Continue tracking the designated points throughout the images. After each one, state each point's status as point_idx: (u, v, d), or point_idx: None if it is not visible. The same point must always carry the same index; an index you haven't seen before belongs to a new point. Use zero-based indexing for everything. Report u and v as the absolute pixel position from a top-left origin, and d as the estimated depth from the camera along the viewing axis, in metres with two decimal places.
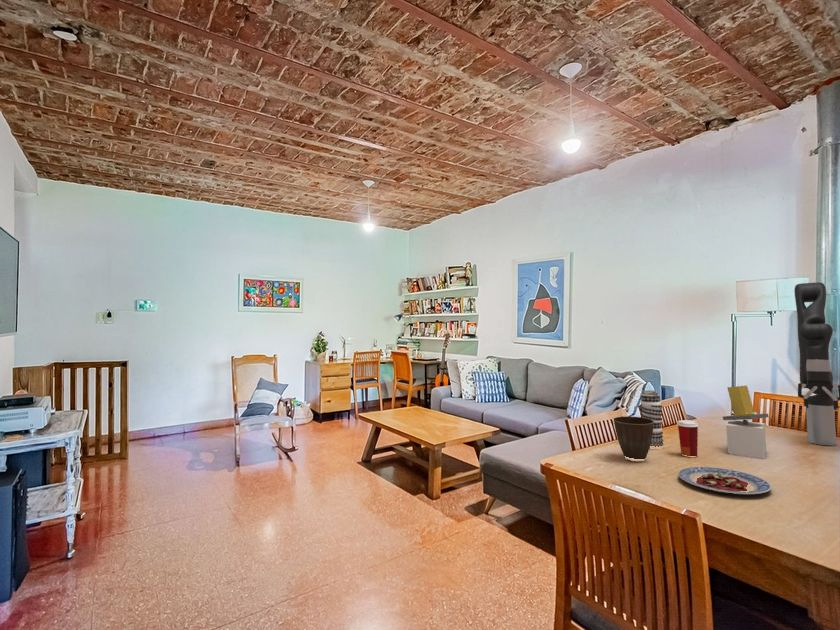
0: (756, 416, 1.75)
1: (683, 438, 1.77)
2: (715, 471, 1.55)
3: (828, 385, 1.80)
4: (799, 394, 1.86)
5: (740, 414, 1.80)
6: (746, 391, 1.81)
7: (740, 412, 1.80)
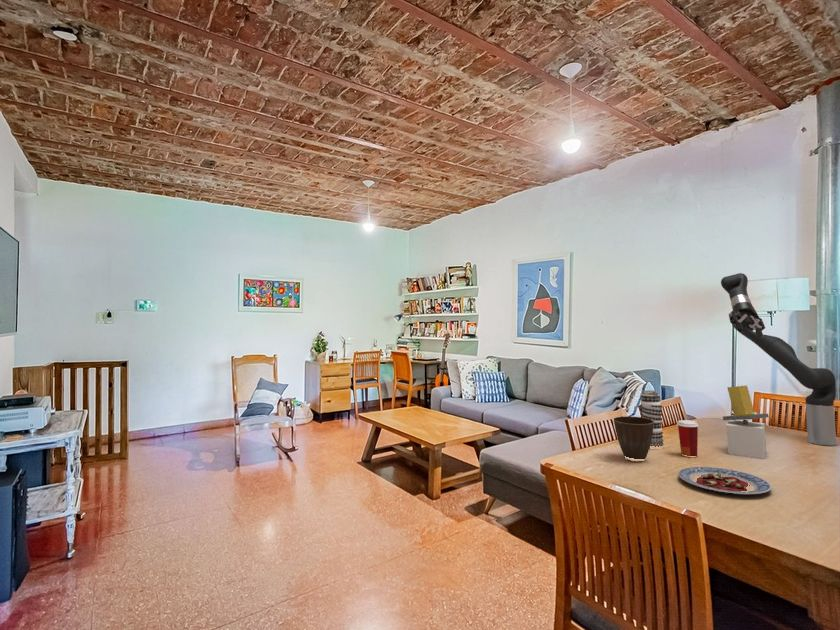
0: (756, 416, 1.75)
1: (683, 438, 1.77)
2: (715, 471, 1.55)
3: None
4: (735, 318, 1.93)
5: (740, 414, 1.80)
6: (746, 391, 1.81)
7: (740, 412, 1.80)
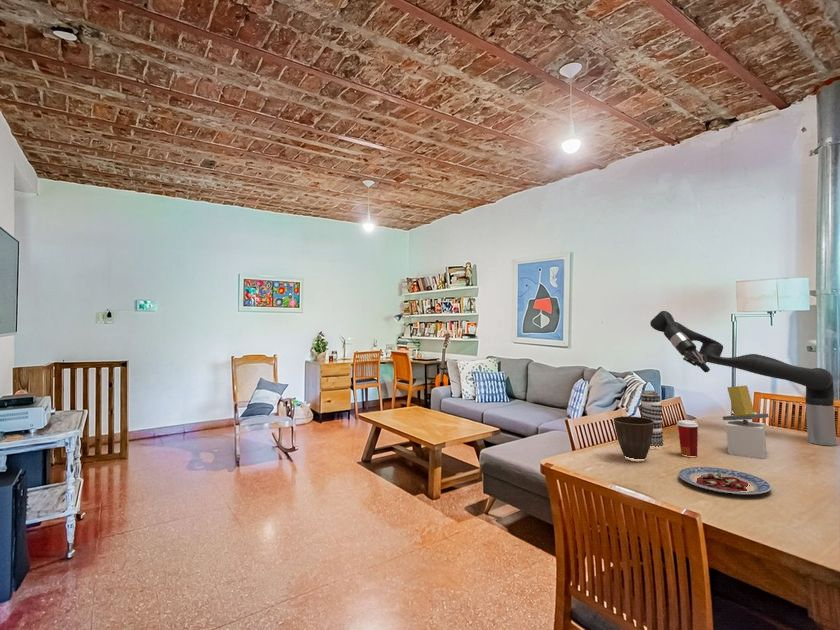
0: (756, 416, 1.75)
1: (683, 438, 1.77)
2: (715, 471, 1.55)
3: (697, 351, 2.05)
4: (696, 360, 1.99)
5: (740, 414, 1.80)
6: (746, 391, 1.81)
7: (740, 412, 1.80)
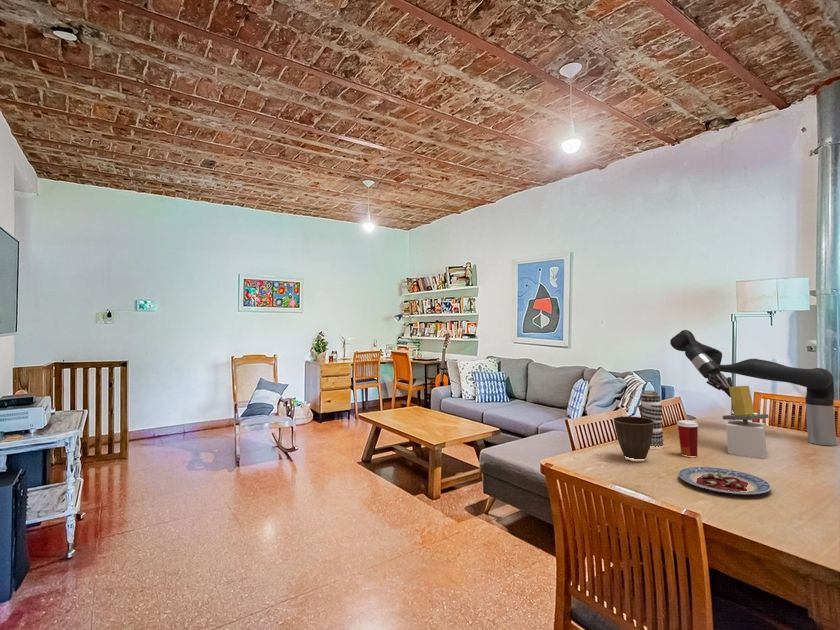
0: (756, 417, 1.75)
1: (683, 438, 1.77)
2: (715, 471, 1.55)
3: (721, 374, 1.93)
4: (720, 385, 1.87)
5: (740, 414, 1.80)
6: (747, 391, 1.81)
7: (741, 412, 1.80)
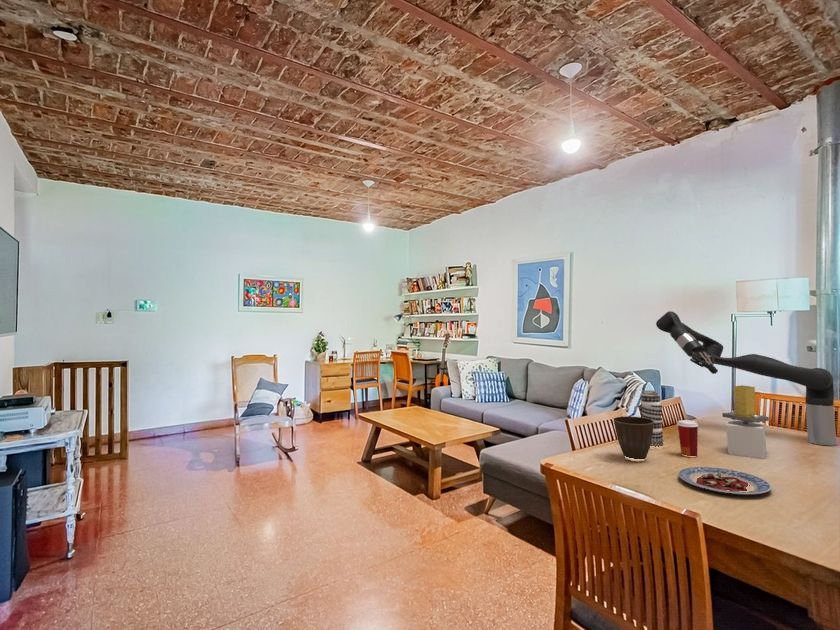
0: (757, 420, 1.75)
1: (683, 438, 1.77)
2: (715, 471, 1.55)
3: (704, 352, 2.01)
4: (703, 362, 1.95)
5: (741, 414, 1.80)
6: (752, 392, 1.79)
7: (742, 412, 1.79)
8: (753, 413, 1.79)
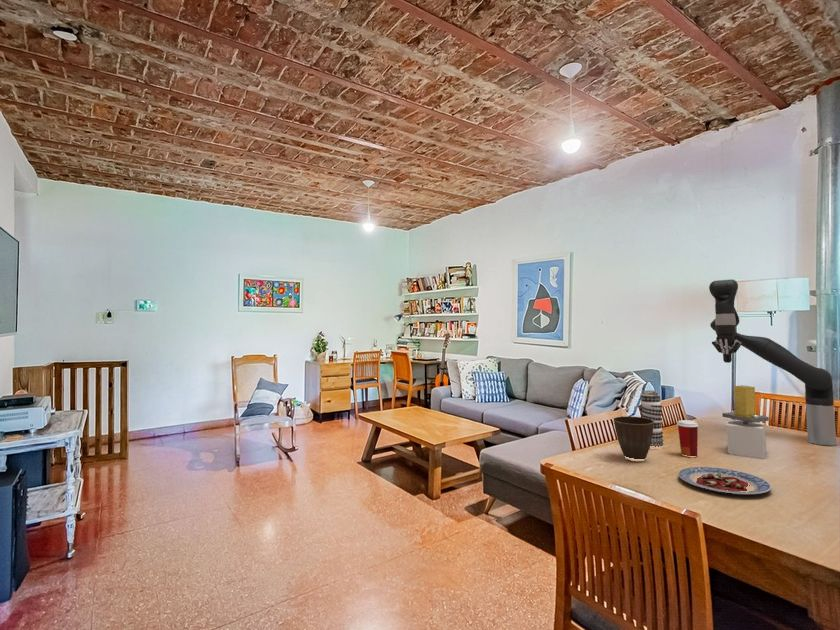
0: (757, 420, 1.75)
1: (683, 438, 1.77)
2: (715, 471, 1.55)
3: None
4: None
5: (741, 414, 1.80)
6: (752, 392, 1.79)
7: (742, 412, 1.79)
8: (753, 413, 1.79)
